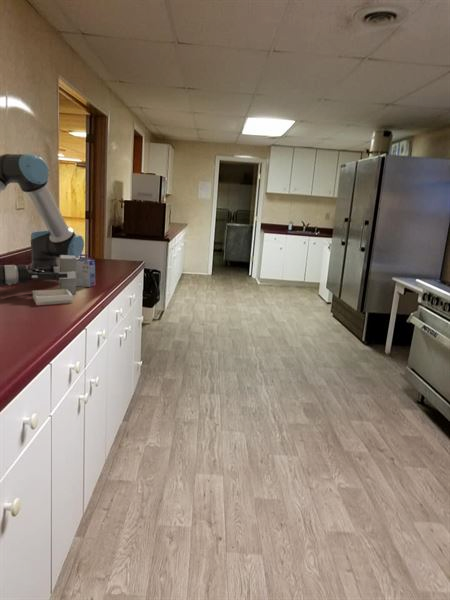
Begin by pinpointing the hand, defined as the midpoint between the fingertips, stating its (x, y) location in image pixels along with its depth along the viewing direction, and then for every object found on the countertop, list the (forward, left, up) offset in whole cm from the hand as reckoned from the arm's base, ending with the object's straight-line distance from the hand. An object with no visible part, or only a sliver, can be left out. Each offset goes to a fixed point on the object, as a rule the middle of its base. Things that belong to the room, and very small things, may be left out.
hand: (72, 272), depth 181 cm
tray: (+12, -10, -9) cm, 18 cm away
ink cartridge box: (-14, +7, -9) cm, 18 cm away
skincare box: (0, -2, -9) cm, 9 cm away
